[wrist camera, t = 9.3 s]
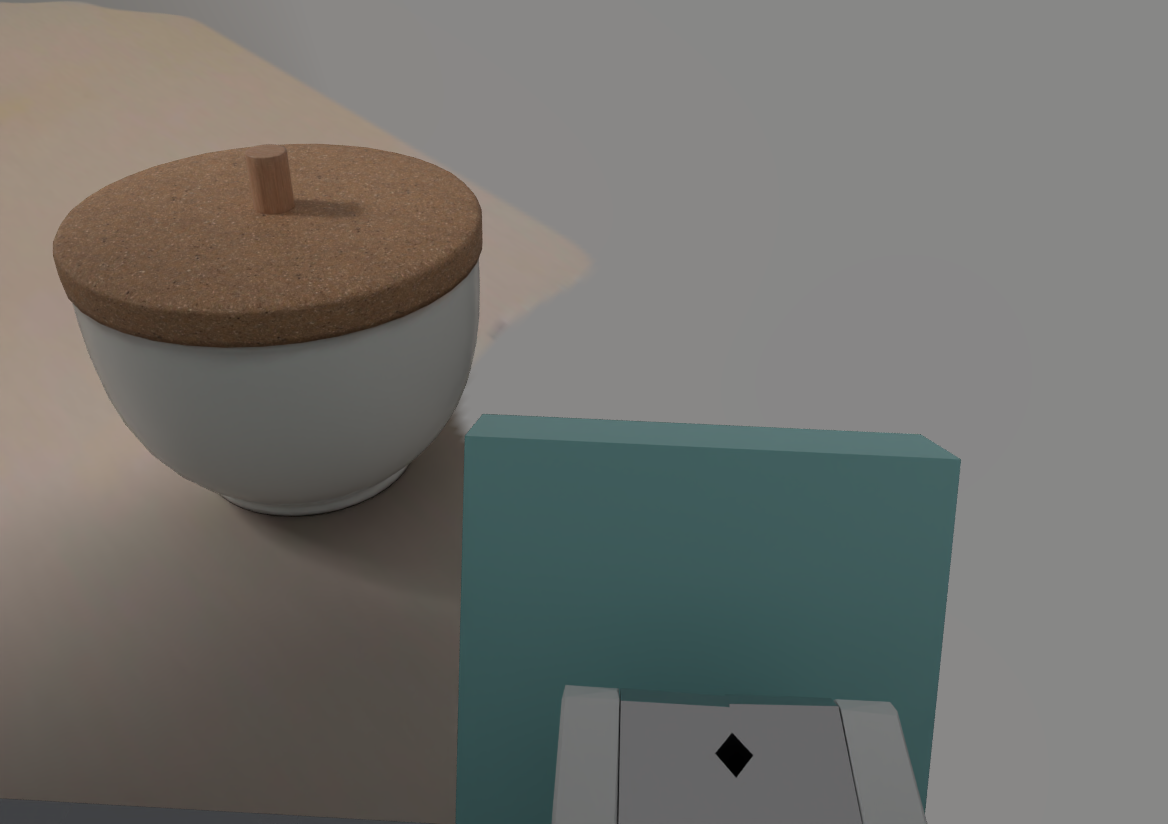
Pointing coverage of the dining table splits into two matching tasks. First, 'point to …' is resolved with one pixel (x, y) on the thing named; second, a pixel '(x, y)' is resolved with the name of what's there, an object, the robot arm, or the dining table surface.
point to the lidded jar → (280, 315)
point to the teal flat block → (689, 579)
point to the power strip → (146, 815)
